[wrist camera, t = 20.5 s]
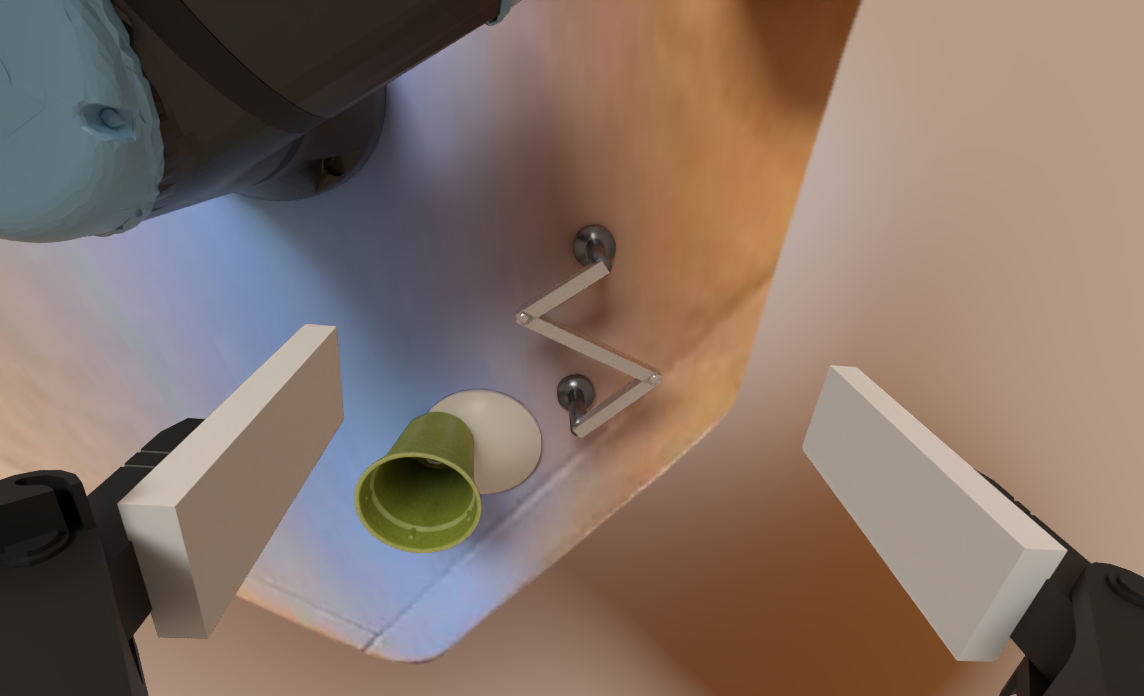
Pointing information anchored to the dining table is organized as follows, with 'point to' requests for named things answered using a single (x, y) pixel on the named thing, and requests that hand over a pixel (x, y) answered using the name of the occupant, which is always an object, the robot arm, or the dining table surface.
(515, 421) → the pad
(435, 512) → the plant pot
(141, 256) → the dining table surface
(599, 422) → the zigzag bar on posts
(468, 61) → the dining table surface
